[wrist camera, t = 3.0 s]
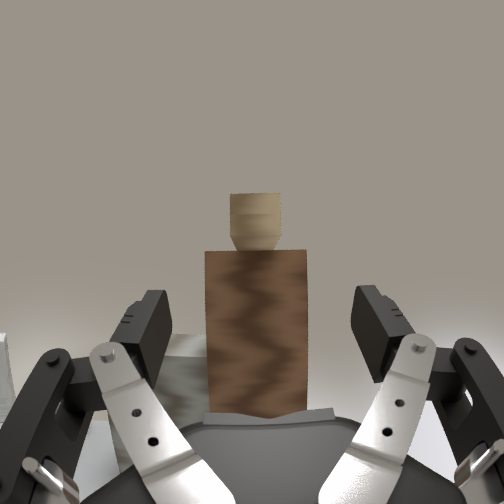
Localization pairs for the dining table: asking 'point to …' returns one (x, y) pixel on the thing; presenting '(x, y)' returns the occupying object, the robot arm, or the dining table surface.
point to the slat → (255, 221)
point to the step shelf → (239, 343)
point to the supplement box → (5, 380)
